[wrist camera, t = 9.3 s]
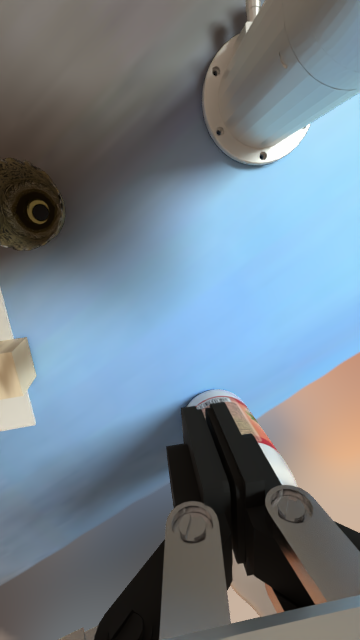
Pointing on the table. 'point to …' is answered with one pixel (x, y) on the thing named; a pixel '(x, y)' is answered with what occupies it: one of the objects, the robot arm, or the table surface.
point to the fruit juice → (246, 423)
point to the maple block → (15, 368)
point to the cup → (27, 206)
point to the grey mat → (17, 408)
